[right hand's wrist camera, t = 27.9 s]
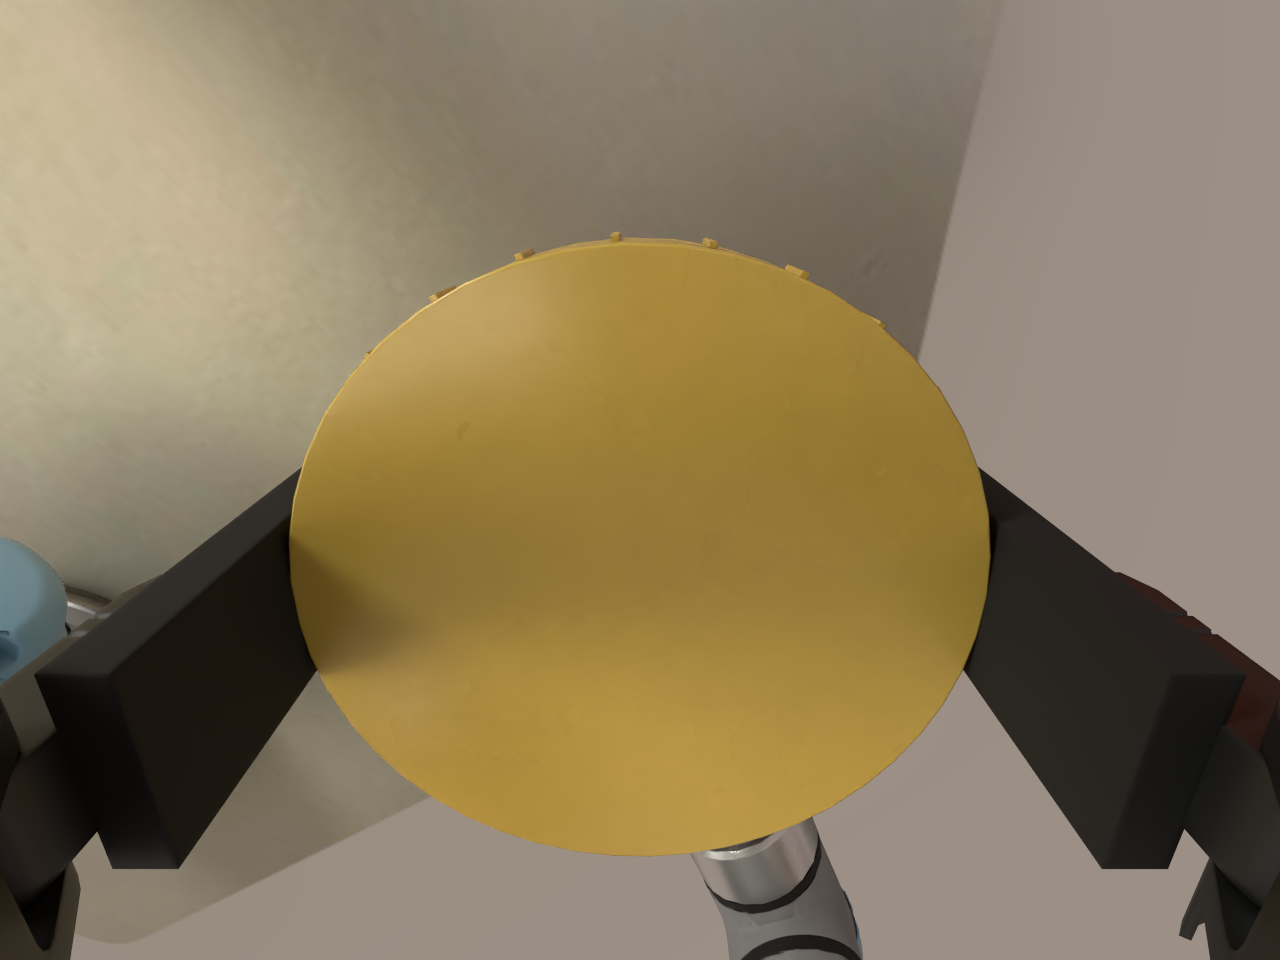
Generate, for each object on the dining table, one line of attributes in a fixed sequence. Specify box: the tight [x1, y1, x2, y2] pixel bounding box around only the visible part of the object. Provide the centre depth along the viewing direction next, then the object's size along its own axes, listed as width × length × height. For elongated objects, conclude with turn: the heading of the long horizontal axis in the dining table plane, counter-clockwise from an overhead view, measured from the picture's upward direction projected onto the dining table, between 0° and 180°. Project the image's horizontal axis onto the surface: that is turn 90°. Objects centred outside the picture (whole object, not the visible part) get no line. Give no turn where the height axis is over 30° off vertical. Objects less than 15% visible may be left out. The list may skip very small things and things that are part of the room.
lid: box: [289, 232, 991, 856], centre depth 11 cm, size 11×11×2 cm
